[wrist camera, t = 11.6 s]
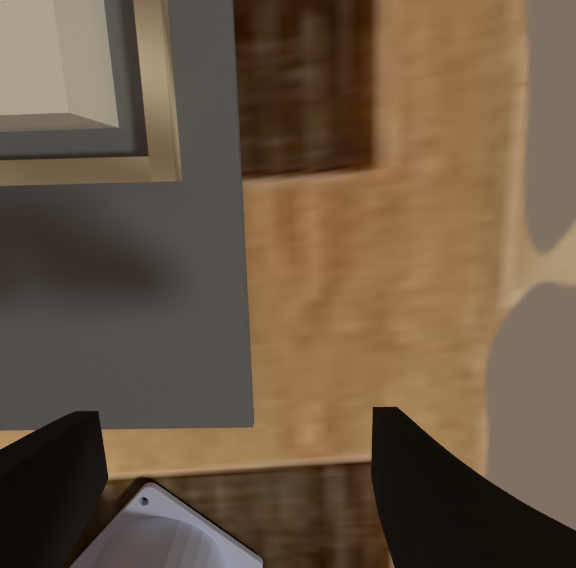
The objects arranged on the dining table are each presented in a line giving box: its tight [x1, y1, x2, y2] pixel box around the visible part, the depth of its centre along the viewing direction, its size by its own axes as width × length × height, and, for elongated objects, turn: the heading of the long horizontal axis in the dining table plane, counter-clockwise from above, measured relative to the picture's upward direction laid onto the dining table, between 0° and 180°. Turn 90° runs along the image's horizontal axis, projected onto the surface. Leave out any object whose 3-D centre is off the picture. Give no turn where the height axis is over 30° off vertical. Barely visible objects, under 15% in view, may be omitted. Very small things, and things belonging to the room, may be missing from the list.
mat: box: [0, 0, 254, 430], centre depth 18 cm, size 26×15×1 cm, turn 1°
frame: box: [0, 0, 182, 186], centre depth 16 cm, size 14×10×1 cm
